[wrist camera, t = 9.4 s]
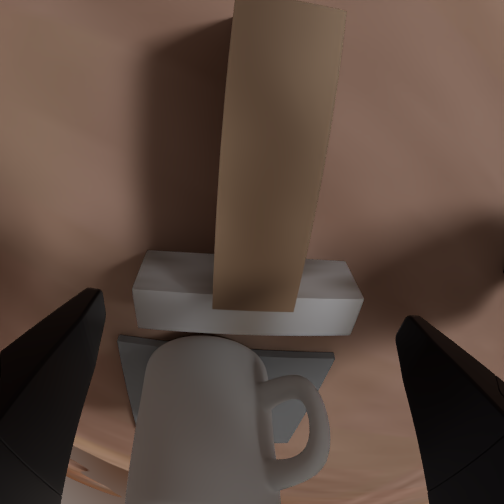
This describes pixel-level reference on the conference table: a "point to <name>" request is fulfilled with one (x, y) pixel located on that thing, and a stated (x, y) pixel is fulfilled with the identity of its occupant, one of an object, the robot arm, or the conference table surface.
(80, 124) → the conference table surface
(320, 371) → the mat
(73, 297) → the robot arm
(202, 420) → the mug
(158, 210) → the conference table surface
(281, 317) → the panel
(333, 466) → the conference table surface
